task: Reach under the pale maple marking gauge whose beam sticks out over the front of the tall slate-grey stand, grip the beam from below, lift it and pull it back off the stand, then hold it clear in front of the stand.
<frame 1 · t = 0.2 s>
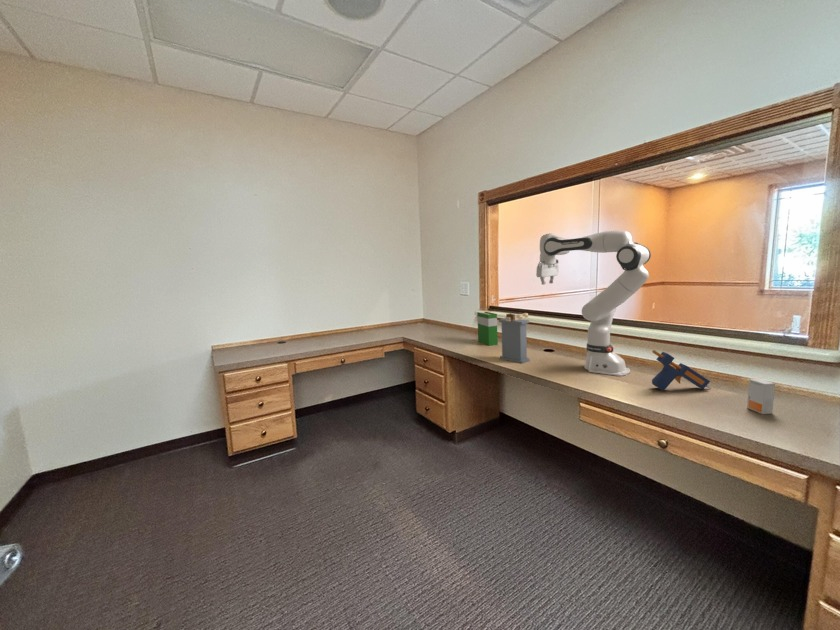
hand: (547, 283, 211), 48 cm above the table, tool pointing down, fingers open, 8 cm apart
green white box: (487, 343, 271), on the table
glue gun: (680, 389, 158), on the table
marking gauge: (517, 319, 219), point 26 cm above the table, touching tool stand
skincare box: (759, 411, 132), on the table
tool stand: (514, 359, 220), on the table
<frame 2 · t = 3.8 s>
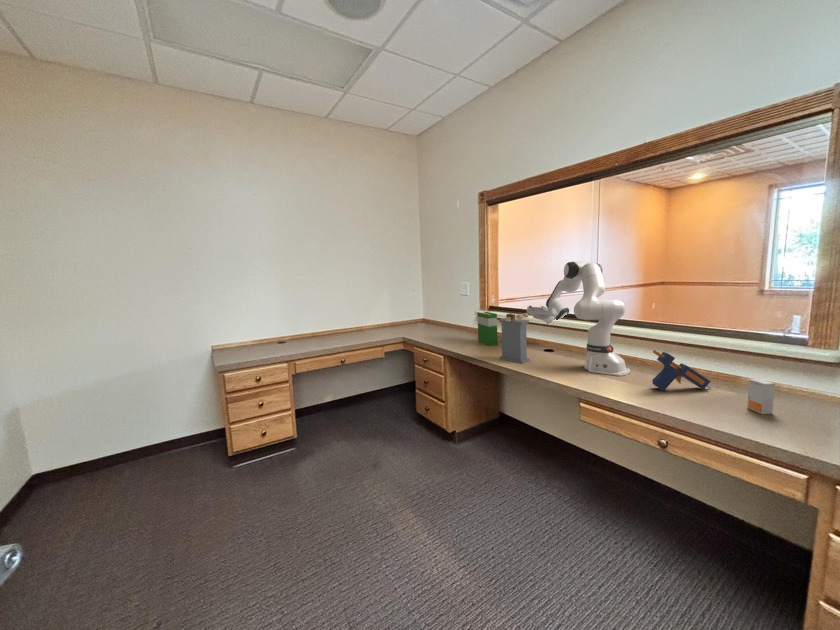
hand: (535, 306, 232), 31 cm above the table, tool pointing upward, fingers open, 8 cm apart
nothing on the table moved.
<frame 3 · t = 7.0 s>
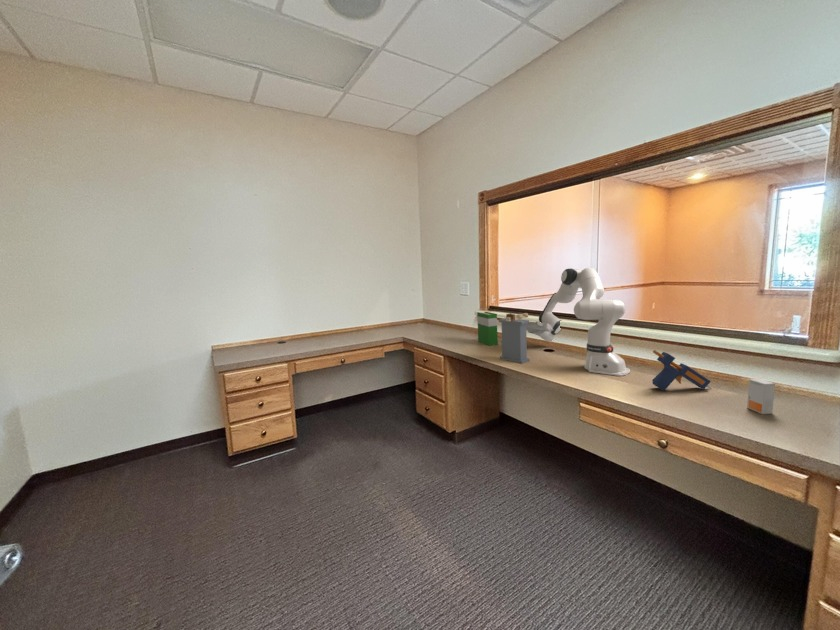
hand: (530, 321, 229), 22 cm above the table, tool pointing upward, fingers open, 8 cm apart
nothing on the table moved.
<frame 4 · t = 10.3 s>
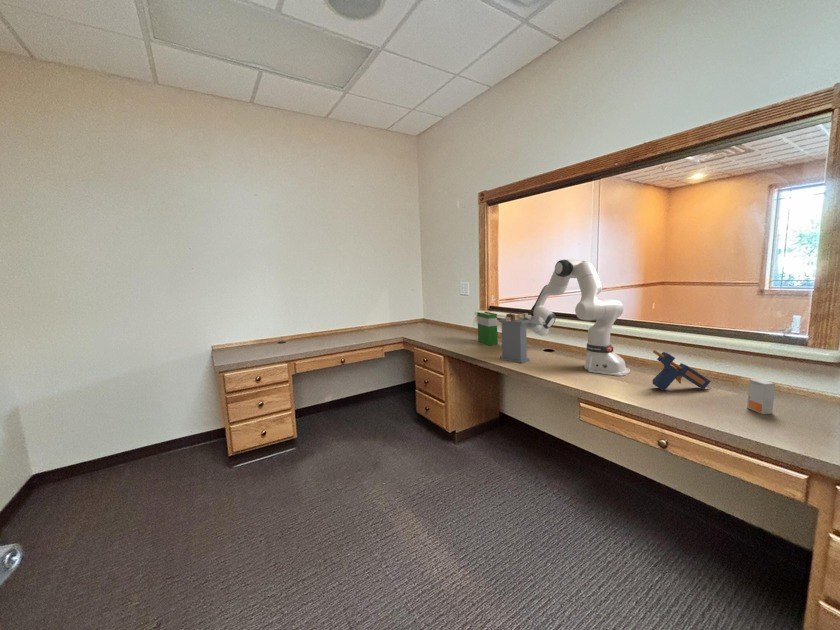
hand: (522, 315, 222), 28 cm above the table, tool pointing upward, fingers closed on marking gauge, 2 cm apart
marking gauge: (517, 319, 219), point 26 cm above the table, touching gripper, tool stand
everything else where it was.
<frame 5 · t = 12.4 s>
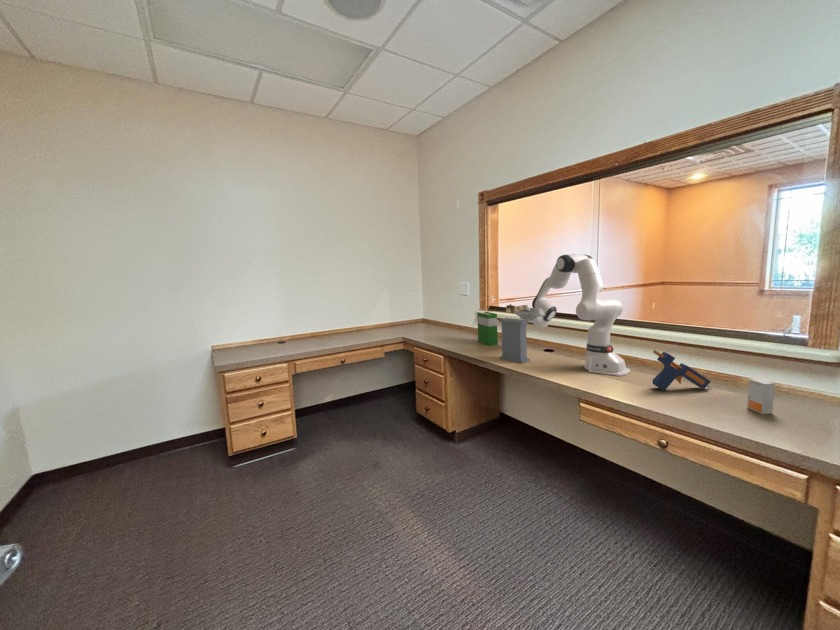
hand: (522, 306, 222), 33 cm above the table, tool pointing upward, fingers closed on marking gauge, 2 cm apart
marking gauge: (517, 310, 219), point 31 cm above the table, touching gripper
everything else where it was.
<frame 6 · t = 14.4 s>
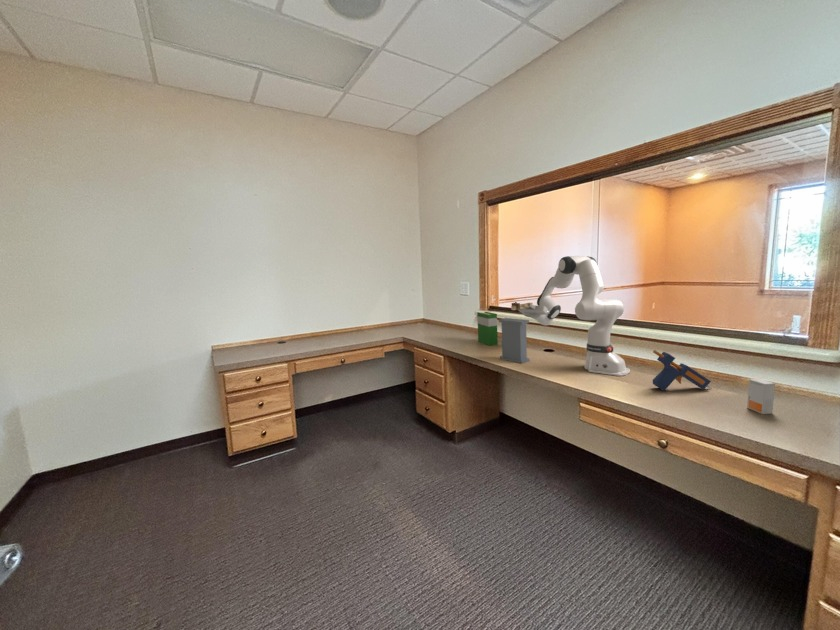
hand: (526, 304, 226), 34 cm above the table, tool pointing upward, fingers closed on marking gauge, 2 cm apart
marking gauge: (522, 308, 223), point 32 cm above the table, touching gripper
everything else where it was.
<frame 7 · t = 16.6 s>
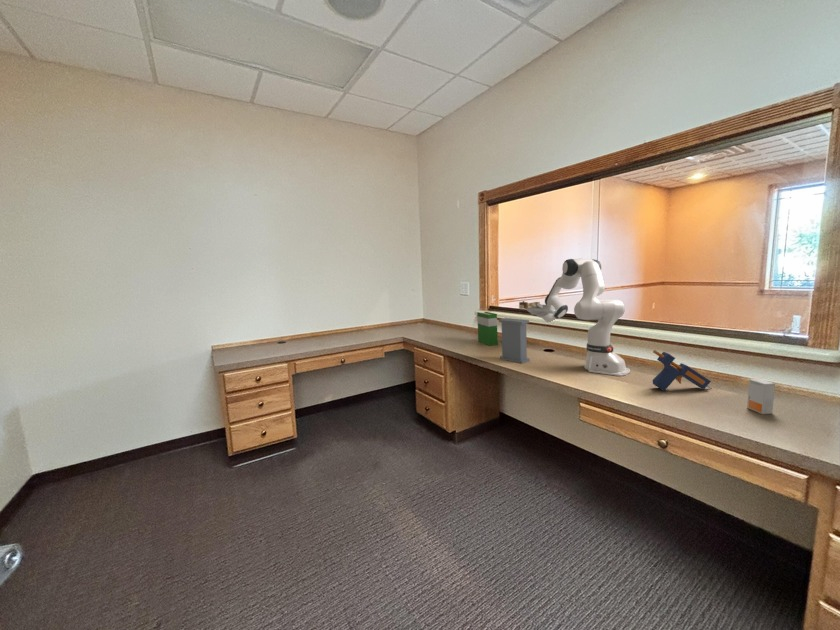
hand: (534, 303, 230), 34 cm above the table, tool pointing upward, fingers closed on marking gauge, 2 cm apart
marking gauge: (529, 307, 227), point 32 cm above the table, touching gripper
everything else where it was.
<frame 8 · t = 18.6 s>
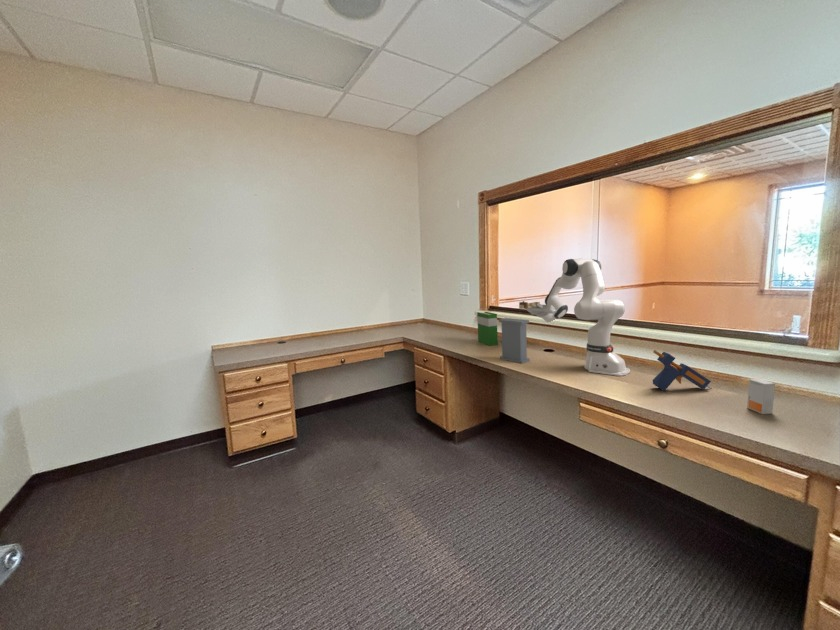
hand: (534, 303, 230), 34 cm above the table, tool pointing upward, fingers closed on marking gauge, 2 cm apart
marking gauge: (529, 307, 227), point 32 cm above the table, touching gripper
everything else where it was.
at the end: the gripper is holding marking gauge; marking gauge inside the target area (0.0 cm from its centre), point 32.0 cm above the table; marking gauge touching gripper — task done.
